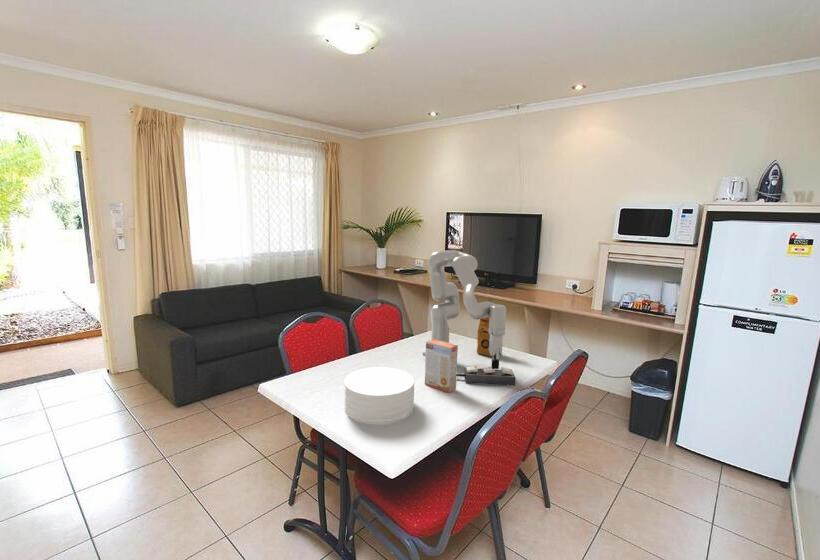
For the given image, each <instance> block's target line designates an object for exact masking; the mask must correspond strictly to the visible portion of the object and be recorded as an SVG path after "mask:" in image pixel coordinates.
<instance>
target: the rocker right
mask: <svg viewBox="0 0 820 560" xmlns="http://www.w3.org/2000/svg"><path fill="white" fill-rule="evenodd" d="M500 370H502V372H503V373H507V374H511V375H513V373H514V371H513V369H512V368H508V367H505V366H501V368H500Z"/></svg>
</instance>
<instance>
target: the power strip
mask: <svg viewBox="0 0 820 560" xmlns="http://www.w3.org/2000/svg"><path fill="white" fill-rule="evenodd" d="M456 377H463V378H464V382H465V384H473V385H475V384H476V385H493V386H513V387H516V379H517V377H516V376H515V373H514V372H513V375H511V374H507V373H503V372H502V370H501V369H495V372H491V373H484V370H483V368H478V371H475V372H468V373H467V368H466V367H464V372H463V373H457V375H456Z"/></svg>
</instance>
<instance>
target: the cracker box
mask: <svg viewBox="0 0 820 560" xmlns="http://www.w3.org/2000/svg"><path fill="white" fill-rule="evenodd" d="M458 347H459V346H458V345H457V344H454V343H450V342H449V343H446V342H443V341H439V340H435V339H432V340H431V339H429V340H426V341H425V352H426V357H425V360H424V361H425V365H424V367H425V370H424V385H426V386H429V387H432V388H434V389H436V390H437V389H438V390H439V391H440V390H441V391H443V392H445V393H451V392H454V391H455V390H456V389H457V376H456V375H457V374H458V372H457V371H458V349H459V348H458Z"/></svg>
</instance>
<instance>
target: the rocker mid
mask: <svg viewBox="0 0 820 560" xmlns="http://www.w3.org/2000/svg"><path fill="white" fill-rule="evenodd" d="M482 369H483V370H484V373H491V372H495V370H496V369H492V366H487V367H482Z"/></svg>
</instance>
